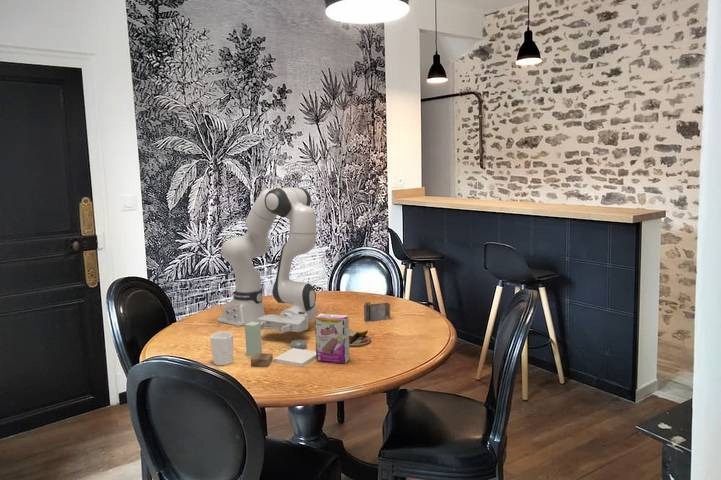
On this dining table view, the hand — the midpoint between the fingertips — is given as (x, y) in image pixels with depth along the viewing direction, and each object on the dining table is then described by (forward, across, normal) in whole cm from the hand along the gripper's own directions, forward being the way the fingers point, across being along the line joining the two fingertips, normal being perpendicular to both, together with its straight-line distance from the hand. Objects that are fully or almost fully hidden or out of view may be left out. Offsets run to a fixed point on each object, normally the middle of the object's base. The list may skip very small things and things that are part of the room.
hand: (270, 328), depth 203 cm
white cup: (+20, -6, +7) cm, 22 cm away
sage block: (+10, 0, +7) cm, 12 cm away
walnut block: (+16, +8, +7) cm, 19 cm away
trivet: (+7, +17, +7) cm, 20 cm away
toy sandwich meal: (-16, +27, +8) cm, 33 cm away
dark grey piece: (-47, +24, +8) cm, 53 cm away
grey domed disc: (-3, +11, +7) cm, 13 cm away
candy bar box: (+4, +30, +7) cm, 31 cm away
